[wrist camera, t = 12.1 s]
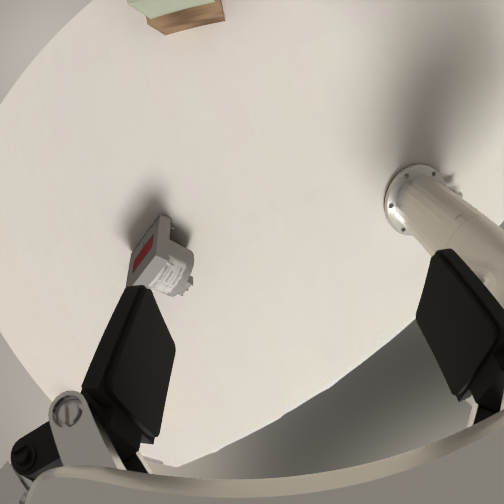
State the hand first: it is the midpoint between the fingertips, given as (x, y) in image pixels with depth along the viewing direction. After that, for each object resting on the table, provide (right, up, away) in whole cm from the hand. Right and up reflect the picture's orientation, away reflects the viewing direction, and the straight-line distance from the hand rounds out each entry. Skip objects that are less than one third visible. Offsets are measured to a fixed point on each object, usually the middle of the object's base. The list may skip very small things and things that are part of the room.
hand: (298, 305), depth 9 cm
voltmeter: (-18, -3, +40) cm, 44 cm away
